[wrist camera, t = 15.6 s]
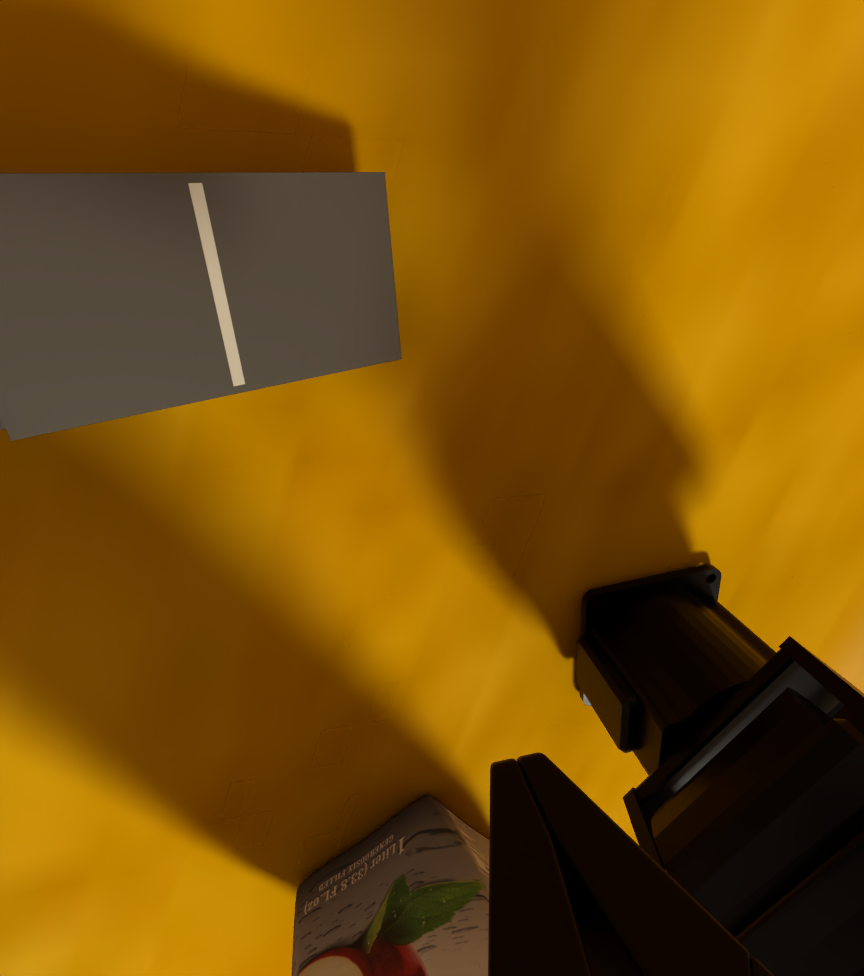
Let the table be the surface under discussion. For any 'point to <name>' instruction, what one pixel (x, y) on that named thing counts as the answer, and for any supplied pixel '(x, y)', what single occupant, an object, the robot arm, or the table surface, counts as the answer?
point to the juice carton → (399, 902)
